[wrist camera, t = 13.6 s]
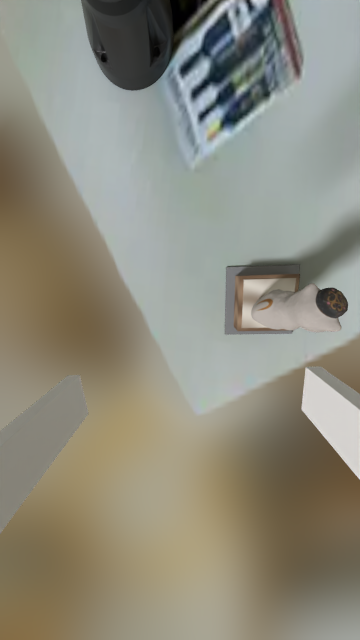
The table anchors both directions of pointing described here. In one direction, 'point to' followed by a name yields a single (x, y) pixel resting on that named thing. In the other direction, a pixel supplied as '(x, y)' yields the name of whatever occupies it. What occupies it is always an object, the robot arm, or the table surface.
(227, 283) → the mat
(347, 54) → the table surface
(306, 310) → the figurine
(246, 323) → the plinth
